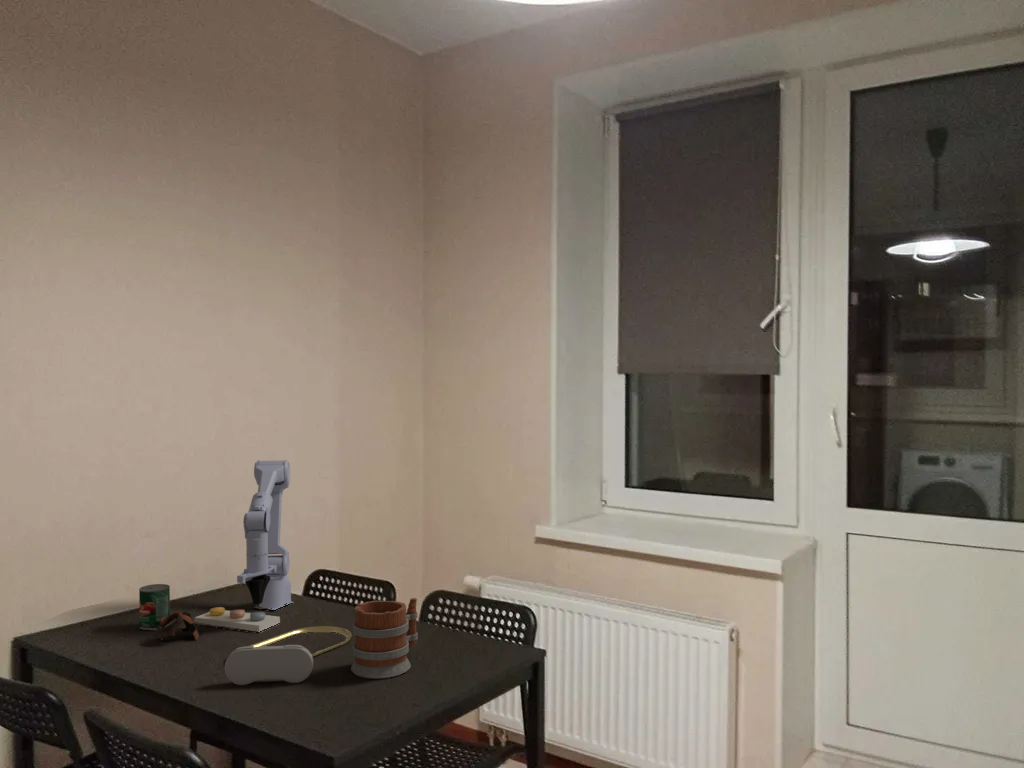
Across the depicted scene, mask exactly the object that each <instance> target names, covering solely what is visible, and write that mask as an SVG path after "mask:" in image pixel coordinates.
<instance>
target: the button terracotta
mask: <svg viewBox="0 0 1024 768" xmlns="http://www.w3.org/2000/svg"><path fill="white" fill-rule="evenodd" d="M229 611H230V617H232V618H239V617H243V616H245V613H246V612H245V609H233V610H229Z"/></svg>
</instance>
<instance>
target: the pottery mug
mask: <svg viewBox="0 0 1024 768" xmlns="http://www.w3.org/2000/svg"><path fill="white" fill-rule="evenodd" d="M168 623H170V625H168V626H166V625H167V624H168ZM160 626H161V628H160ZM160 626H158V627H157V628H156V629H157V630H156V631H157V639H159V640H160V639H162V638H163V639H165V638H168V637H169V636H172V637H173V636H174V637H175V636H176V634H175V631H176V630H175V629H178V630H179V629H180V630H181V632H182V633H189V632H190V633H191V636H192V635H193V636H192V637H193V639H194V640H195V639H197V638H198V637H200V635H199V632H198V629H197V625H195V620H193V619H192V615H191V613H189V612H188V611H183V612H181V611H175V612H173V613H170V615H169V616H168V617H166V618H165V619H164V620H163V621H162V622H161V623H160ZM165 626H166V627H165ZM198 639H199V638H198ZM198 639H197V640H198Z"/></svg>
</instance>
